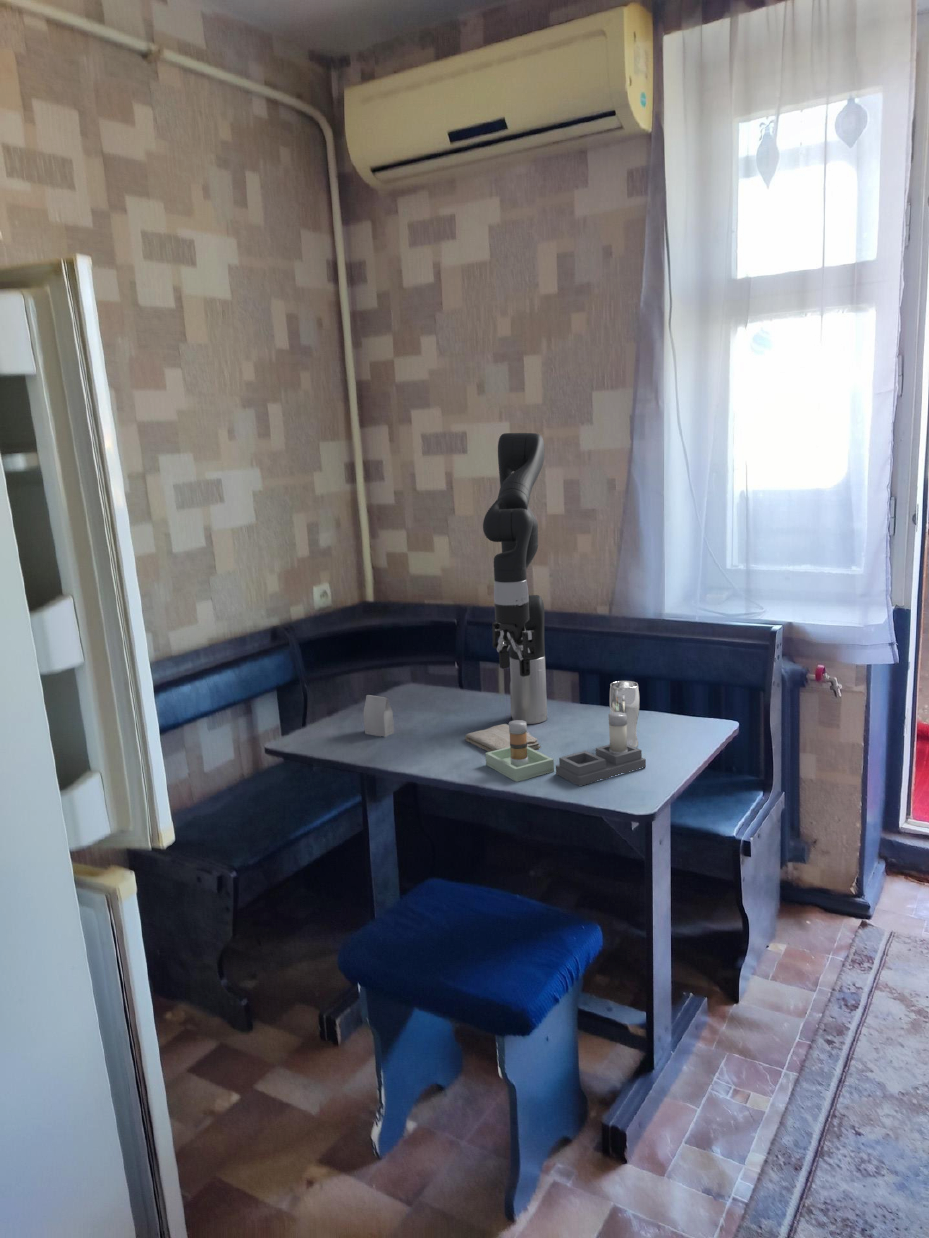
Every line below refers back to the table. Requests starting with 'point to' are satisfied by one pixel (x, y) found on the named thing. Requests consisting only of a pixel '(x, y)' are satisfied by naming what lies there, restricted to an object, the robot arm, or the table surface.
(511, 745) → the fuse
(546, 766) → the parts tray
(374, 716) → the tea bag
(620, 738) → the fuse
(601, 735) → the table surface
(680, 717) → the table surface
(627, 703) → the beer glass
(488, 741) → the washcloth
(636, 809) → the table surface
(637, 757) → the fuse block
